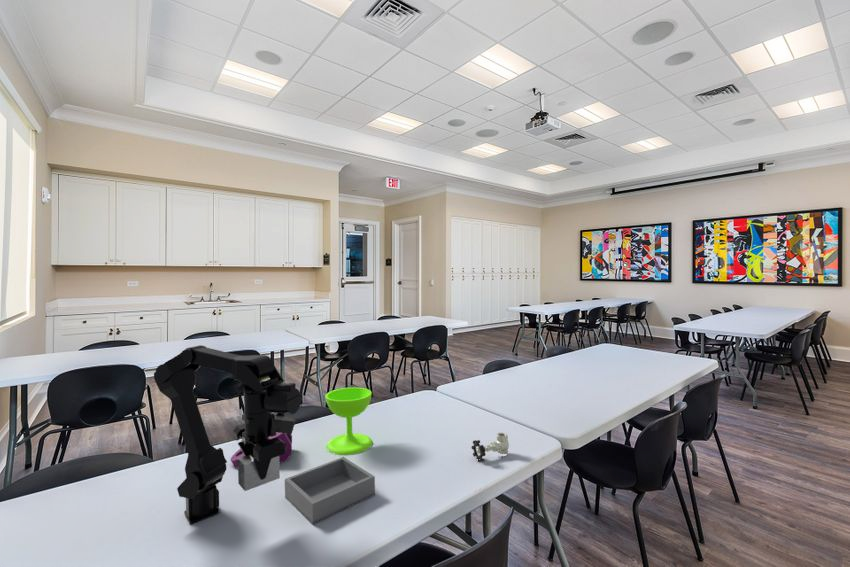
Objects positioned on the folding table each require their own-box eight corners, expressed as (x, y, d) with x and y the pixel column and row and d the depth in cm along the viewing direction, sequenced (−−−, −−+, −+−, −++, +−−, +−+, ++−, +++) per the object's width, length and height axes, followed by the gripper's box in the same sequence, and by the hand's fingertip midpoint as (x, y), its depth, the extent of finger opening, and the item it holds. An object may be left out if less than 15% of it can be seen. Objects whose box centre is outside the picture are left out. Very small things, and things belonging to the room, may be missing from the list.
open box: (312, 524, 91) (312, 504, 91) (285, 497, 102) (284, 479, 102) (374, 494, 103) (374, 476, 103) (343, 473, 115) (343, 456, 115)
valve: (501, 449, 129) (471, 457, 124) (501, 430, 129) (471, 436, 124) (514, 457, 123) (483, 466, 118) (513, 437, 123) (482, 444, 118)
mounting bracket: (241, 487, 119) (296, 454, 124) (228, 465, 118) (283, 432, 122) (245, 473, 128) (296, 442, 133) (233, 452, 127) (284, 422, 131)
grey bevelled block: (244, 491, 87) (244, 465, 87) (238, 483, 90) (237, 458, 90) (279, 478, 92) (279, 453, 92) (272, 471, 95) (271, 447, 95)
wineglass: (352, 459, 124) (351, 403, 123) (316, 449, 131) (315, 397, 131) (381, 440, 138) (380, 390, 137) (347, 432, 145) (346, 385, 145)
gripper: (307, 411, 89) (308, 477, 90) (275, 394, 103) (277, 451, 103) (258, 424, 82) (260, 496, 82) (231, 404, 96) (233, 466, 96)
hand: (259, 475), depth 91 cm, fingers closed on grey bevelled block, 4 cm apart
